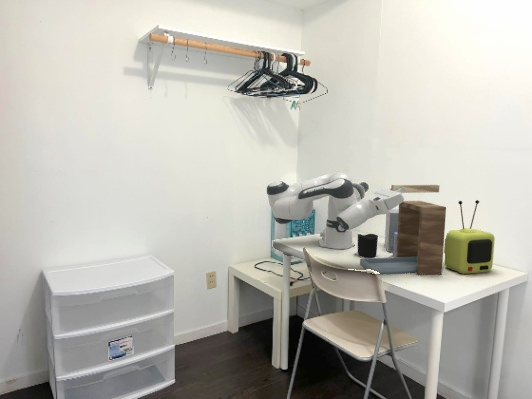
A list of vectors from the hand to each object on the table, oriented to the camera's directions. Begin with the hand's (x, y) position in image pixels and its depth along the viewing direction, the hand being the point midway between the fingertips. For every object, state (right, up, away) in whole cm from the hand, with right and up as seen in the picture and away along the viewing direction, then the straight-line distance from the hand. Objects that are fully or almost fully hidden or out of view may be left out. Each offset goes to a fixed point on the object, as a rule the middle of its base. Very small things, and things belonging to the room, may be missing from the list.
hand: (401, 187), depth 168 cm
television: (+29, -35, +6) cm, 46 cm away
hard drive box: (+9, -31, +39) cm, 50 cm away
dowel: (+6, -2, +1) cm, 7 cm away
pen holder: (-8, -32, +25) cm, 42 cm away
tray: (-1, -35, +4) cm, 35 cm away
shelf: (+9, -35, +6) cm, 36 cm away
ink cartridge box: (+8, -33, +21) cm, 40 cm away
